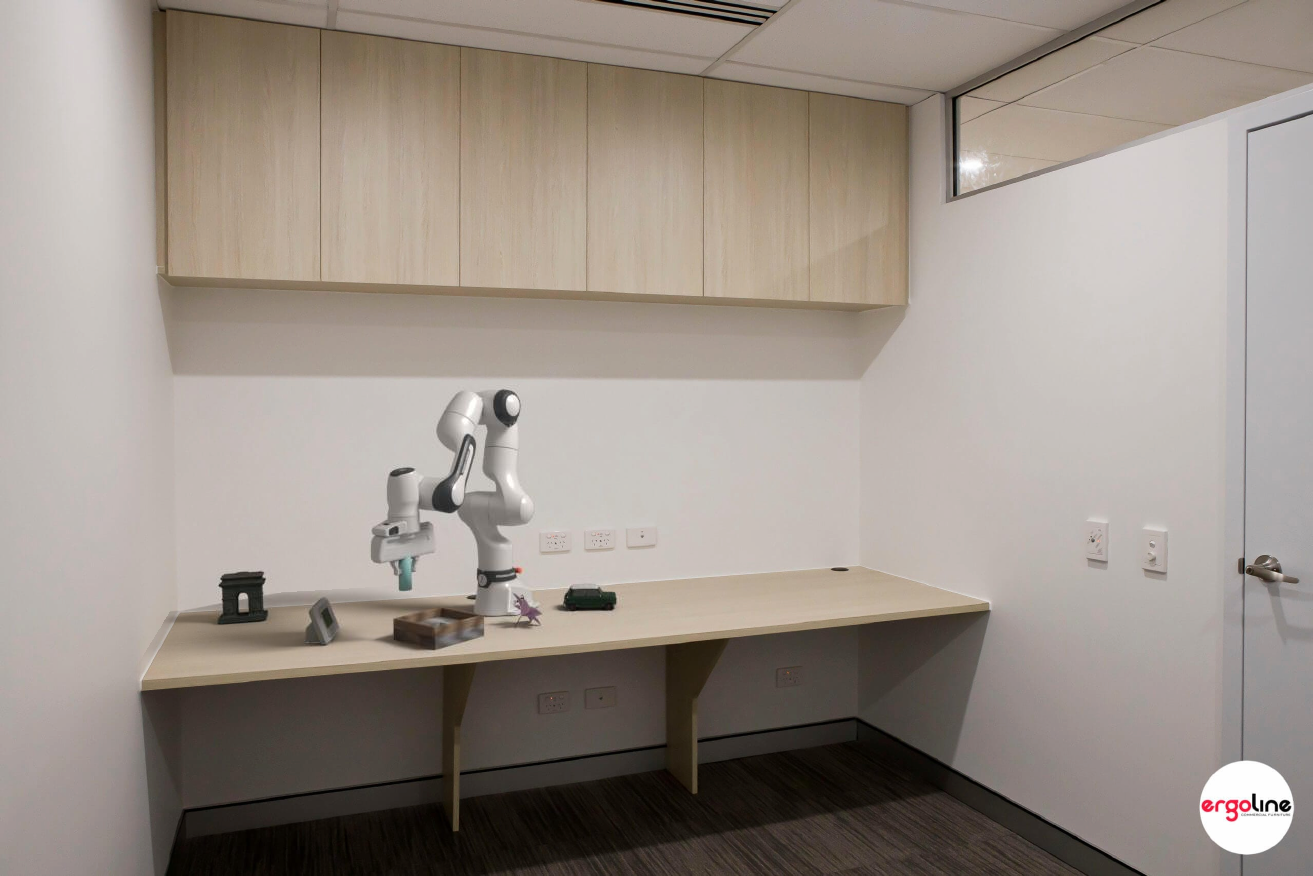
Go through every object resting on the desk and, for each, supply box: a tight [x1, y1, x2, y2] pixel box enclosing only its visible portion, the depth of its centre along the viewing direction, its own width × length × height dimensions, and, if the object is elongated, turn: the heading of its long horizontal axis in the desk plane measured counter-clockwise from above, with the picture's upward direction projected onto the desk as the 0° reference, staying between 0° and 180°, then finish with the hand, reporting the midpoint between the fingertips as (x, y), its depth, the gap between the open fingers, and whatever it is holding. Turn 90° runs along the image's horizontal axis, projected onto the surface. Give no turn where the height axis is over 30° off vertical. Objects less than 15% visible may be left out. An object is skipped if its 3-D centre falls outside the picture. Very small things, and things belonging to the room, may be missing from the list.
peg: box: [397, 556, 413, 592], centre depth 247 cm, size 4×4×10 cm
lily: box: [513, 593, 543, 628], centre depth 264 cm, size 12×12×10 cm
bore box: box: [392, 606, 485, 651], centre depth 250 cm, size 18×18×6 cm
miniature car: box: [562, 582, 618, 612], centre depth 287 cm, size 9×18×8 cm, turn 95°
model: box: [217, 570, 269, 625], centre depth 269 cm, size 14×9×15 cm, turn 112°
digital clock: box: [305, 596, 340, 646], centre depth 248 cm, size 16×9×11 cm, turn 178°
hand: (405, 573), depth 247 cm, fingers closed on peg, 4 cm apart
